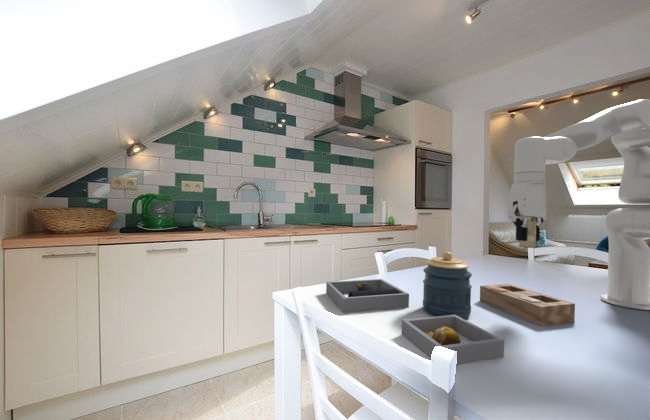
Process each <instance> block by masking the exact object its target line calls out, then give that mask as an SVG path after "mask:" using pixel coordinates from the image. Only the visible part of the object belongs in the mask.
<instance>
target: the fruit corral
mask: <svg viewBox="0 0 650 420" xmlns="http://www.w3.org/2000/svg"><path fill="white" fill-rule="evenodd" d="M443 326H445V327H448V328H451V329H453V330H454V331H455V332H457V334H458V335H459V334H460V335H461V336H463V337H464V338H466V339H467V340H469V341H467V342H461V343H458V344H451V345H443V346H442V345H441V344H439V343H438V342H436V341H435V340H434V339H432V338H431V337H430V336H428V335H427V334H425V333H424V332H429V331H432V332H433V333H434V331H435V330H436V329H438V328H440V327H443ZM401 335H402V336H403V337H404V338H406V340H408V341H409V342H410V343H411V344H413V345H414V347H416V348H417V349H418V350H419V351H421V352H422V353H423V354H425V356H427V357H428V358H429V359H430V360H432V359H431V354H432V351H433V349H434V347H435V346H442V347H445V348H448V349H451V350H454V351H457V365H462V364H463V365H464V364H469V363H476V362H482V361H488V360H496V359H501V358H504V353H505V352H504V350H505V349H504V348H505V340H504V339H502V338H500V337H498V336H497V335H495V334H493V333H491V332H489V331H487V330H485V329H483V328H482V327H480V326H478V325H476V324H474V323H472V322H470V321H468V320H467V319H463V318H461V317H459V316H457V315H445V316H427V317H426V316H424V317H417V318H406V319H401ZM457 365H456V366H457Z"/></svg>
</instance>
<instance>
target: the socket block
mask: <svg viewBox="0 0 650 420" xmlns="http://www.w3.org/2000/svg"><path fill="white" fill-rule="evenodd" d="M479 302H481V303H484V304H487V305H489V306H491V307H494V308H496V309H498V310H501V311H503V312H506V313H509V314H511V315H513V316H515V317H518V318H520V319H523V320H526V321H528V322H531V323H532V324H535V325H538V326H539V327H543V326H544V327H546V326H553V325H560V324H568V323H569V324H570V323H575V319H576V315H575V314H576V302H575V303H574V302H571V301H568V300H565V299H561V298H557V297H555V296H551V295H548V294H545V293H544V294H543V293H540V292H538V291H534V290H531V289H529V288H528V289H527V288H525V287H521V286H517V285H515V284H511V283H506V284H503V283H501V284H499V283H498V284H488V285H487V284H485V285H480V286H479Z"/></svg>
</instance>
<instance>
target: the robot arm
mask: <svg viewBox="0 0 650 420" xmlns="http://www.w3.org/2000/svg"><path fill="white" fill-rule="evenodd" d="M608 139H610V140H611V143H612V145H613V146H614V148H615V149H616V150H617V151H618V153H619V154H620V156H621V157H622V160H623V170H622V175H621V179H620V184H619V187H618V188H619V189H618V193H617V194H618V199H619V201H620V202H621V203H624V204H627V205H637V206H638V205H639V206H640V205H641V206H647V205H648V206H650V147H649V146H650V99H646V98H645V99H643V98H642V99H637V100H635V101H634V100H633V101H631V102H627V103H624V104H623V103H622V104H620V105H616V106H613V107H610V108H606V109H604V110H602V111H600V112H597V113H596V114H594V115H592V116H590V117H588V118H586V119H585V118H584V120H581V121H579V122H577V123H575V124H571V125H569V126H567V127H564V128H562V129H559V130H558V131H555V132H553V133H550V134H547V135H545V136H543V137H542V136H528V137H527V136H526V137H523V138H520V139H518V140H517V141H516V142H515V143H514V170H513V171H514V174H513V183H512V184H511V186H510V192H509V198H508V205H507V207H508V208H507V212H508V213H507V214H508V215H507V216H508V217H507V218H509V220H511V221H512V223H513V225H514V227H515V241H519V240H520V241H527V233H528V229H527V228H526V223H527V220H534V221H536V242H539V241H540V231H541V230H540V229H541V228H542V223H544V221H546V219H547V218H548V215H547V210H548V209H547V207H548V200H547V197H548V196H547V189H546V188H547V187H546V165H554V164H555V165H556V164H560V163H564V162H567V161H569V160H571V159H573V158H574V157H575V155H576V154H577V151H581V150H585V149H588V148H591V147H594V146H596V145H598V144H600V143H602V142H603V141H604V142H605V140H608ZM521 220H522V221H521ZM604 222H605V228H606V232H607V233H606V234H607V237H608V259H607V263H608V264H607V288H606V289H607V292H606V294H601V295H600V300H601V301H603V302H605V303H608V304H610V305H614V306H619V307H621V308H622V307H624V308H626V309H627V308H628V309H633V310H641V311H650V246H649V245H648V244H647V242H646V241H645V240H644V239H650V207H620V208H616V209H615V208H614V209H612V210H611V211H609V212H608V213H607V215H606V216H605V221H604Z"/></svg>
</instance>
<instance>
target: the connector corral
mask: <svg viewBox="0 0 650 420" xmlns="http://www.w3.org/2000/svg"><path fill="white" fill-rule="evenodd" d="M325 283H326V284H325V285H326V286H325V288H326V290H325V292H326V293H325V294H326V295H327V296H328V297H329V298H330V300H331V301H332V302H333V303H334V304H335V305H336V306H337V307H338V308H339V309H340V311H341V312H342V313H344V314H346V313H357V312H367V311H378V310H379V311H380V310H390V309H391V310H392V309H403V308H409V307H410V293H408V292H406V291H404V290H403V289H401V288H399V287H397V286H396V285H393V284H392V283H390V282H388V281H386V280H384V279H382V278H378V279H377V278H375V279H360V280H359V279H358V280H357V279H356V280H354V279H353V280H338V281H326V282H325ZM362 283H368V284H370V285H371V286H372V288H374V289H375V290H382V289H397V290H398V292H399V294H386V295H372V296H358V297H348V296H345V294H349V292H351V291H357V284H362Z"/></svg>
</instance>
